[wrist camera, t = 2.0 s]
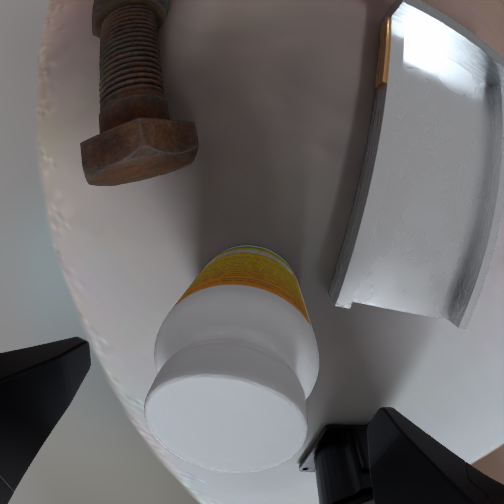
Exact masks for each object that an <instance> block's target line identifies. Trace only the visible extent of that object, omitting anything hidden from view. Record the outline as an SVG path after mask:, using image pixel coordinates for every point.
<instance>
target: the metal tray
mask: <svg viewBox="0 0 504 504" xmlns="http://www.w3.org/2000/svg"><path fill="white" fill-rule="evenodd" d="M375 89H376V91H375V98H374V105H373V111H372V117H371V123H370V129H369V135H368V140H367V145H366V151H365V156H364V161H363V165H362V170H361V175H360V179H359V184H358V188H357V192H356V196H355V201H354V205H353V209H352V213H351V217H350V220H349V224H348V228H347V232H346V235H345V239H344V242H343V246H342V250H341V253H340V256H339V260H338V263H337V266H336V270H335V273H334V276H333V279H332V283H331V286H330V289H329V292H328V294H329V295H330V297H331V299H332V301H333V302H334V304H335V306H338V307H343V308H348V309H350V308H351V305H352V302H357V303H362V304H366V305H371V306H376V307H381V308H386V309H391V310H397V311H402V312H407V313H412V314H418V315H423V316H428V317H434V318H439V319H445V320H449V321H450V322H452V323H453V324H454V325H455V326H456V327H458V328H462V329H466V327H467V325H468V323H469V320H470V318H471V316H472V313H473V311H474V308H475V306H476V303H477V300H478V298H479V295H480V292H481V290H482V287H483V284H484V281H485V278H486V275H487V271H488V268H489V265H490V261H491V258H492V254H493V251H494V247H495V243H496V239H497V234H498V230H499V225H500V220H501V215H502V210H503V204H504V58H503V57H502V56H501V55H500V54H499V53H498V52H496V51H495V50H494V49H493V48H492V47H490V46H489V45H488V44H487V43H485V42H484V41H483V40H481V39H480V38H479V37H477V36H476V35H475V34H473V33H472V32H471V31H469V30H468V29H466V28H465V27H463V26H462V25H460V24H459V23H457V22H456V21H454V20H453V19H451V18H450V17H448V16H446V15H445V14H443V13H441V12H440V11H438V10H436V9H435V8H433V7H431V6H429V5H427V4H426V3H424V2H422V1H420V0H396V1H395V3H394V4H393V5H392V7H391V8H390V9H389V11H388V12H387V14H386V15H385V16H384V18H383V19H382V25H381V30H380V43H379V54H378V64H377V73H376V81H375Z"/></svg>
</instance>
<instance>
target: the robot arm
mask: <svg viewBox="0 0 504 504" xmlns="http://www.w3.org/2000/svg"><path fill="white" fill-rule="evenodd" d="M90 366H91V358H90V347H89V343H88V342H87V341H86V340H84V339H82V338H79V337H73V338H69V339H64V340H60V341H56V342H51V343H47V344H42V345H38V346H33V347H29V348H24V349H19V350H14V351H9V352H4V353H0V504H8V502H9V500H10V499H11V497H12V495H13V493H14V491H15V489H16V487H17V486H18V484H19V482H20V481H21V479H22V477H23V475H24V474H25V472H26V471H27V469H28V467H29V466H30V464H31V463H32V461H33V459H34V458H35V456H36V455H37V453H38V451H39V450H40V448H41V447H42V445H43V444H44V442H45V440H46V439H47V438H48V436H49V434H50V433H51V431H52V430H53V428H54V427H55V425H56V424H57V422H58V421H59V420H60V418H61V417H62V415H63V414H64V412H65V411H66V409H67V408H68V406H69V405H70V403H71V402H72V400H73V398H74V396H75V394H76V393H77V391H78V389H79V387H80V385H81V383H82V382H83V380H84V378H85V376H86V374H87V373H88V371H89V369H90ZM299 470H300V471H302V472H316V480H317V488H318V496H319V504H504V485H503V484H501V483H500V482H498V481H495V480H494V479H492V478H490V477H488V476H487V475H485V474H483V473H482V472H480V471H479V470H477V469H476V468H474V467H473V466H471V465H470V464H468V463H467V462H466V463H465V461H464V460H463V459H461V458H460V457H458V456H457V455H456V454H454V453H453V452H451V451H450V450H449V449H447V448H446V447H444V446H443V445H442V444H440V443H439V442H438V441H436V440H435V439H434V438H432V437H431V436H430V435H428V434H427V433H425V432H424V431H423V430H421V429H420V428H419V427H417V426H416V425H415V424H413V423H412V422H411V421H410V420H408V419H407V418H406V417H404V416H403V415H402V414H400V413H399V412H398V411H396V410H395V409H394V408H392V407H382V408H380V409H379V410H378V411H377V413H376V414H375V416H374V417H373V419H372V420H371V422H370V423H369V425H339V424H330V425H327V426H326V427H325V428H324V429H323V431H322V432H321V434H320V436H319V437H318V439H317V440H316V442H315V443H314V445H313V446H312V448H311V449H310V451H309V452H308V454H307V455H306V457H305V458H304V460H303V461H302V462H301V464H300V465H299Z"/></svg>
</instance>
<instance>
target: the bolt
mask: <svg viewBox="0 0 504 504" xmlns="http://www.w3.org/2000/svg"><path fill="white" fill-rule="evenodd" d="M168 5H169V0H94V4H93V12H92V33H93V35H95V36H97V37H99V38H100V41H101V42H100V64H99V65H100V84H99V86H100V89H99V91H100V114H99V127H100V134H98V135H96V136H94V137H92V138H90V139H88V140H86V141H84V142H81V143H80V146H81V156H82V166H83V171H84V174H85V178H86V180H87V182H88V184H89V185H96V186H115V185H120V184H125V183H130V182H136V181H140V180H144V179H148V178H152V177H155V176H159V175H163V174H166V173H169V172H172V171H175V170H178V169H180V168H182V167H184V166H186V165H189V164H191V163H192V162H193V161H194V159H195V156H196V154H197V150H198V147H199V145H198V139H197V133H196V127H195V123H193V122H185V121H176V120H169V115H168V108H167V102H166V101H165V99H164V96H163V94H164V92H163V86H162V80H161V79H162V77H161V69H160V68H161V66H160V56H159V46H158V37H157V35H158V34H157V28H159V27H160V26H161V25H162V24H163V21H164V19H165V16H166V13H167V9H168Z"/></svg>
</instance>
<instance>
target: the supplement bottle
mask: <svg viewBox="0 0 504 504" xmlns="http://www.w3.org/2000/svg"><path fill="white" fill-rule="evenodd" d="M154 360H155V366H156V370H157V374H158V375H157V376H156V378H155V380H154V382H153V384H152V386H151V388H150V390H149V392H148V394H147V397H146V399H145V405H144V415H145V419H146V422H147V425H148V427H149V429H150V431H151V432H152V434H153V435H154V437H155V438H156V439H157V440H158V441H159V442H160V443H161V444H162V445H163V446H164V447H165V448H166V449H167V450H169V451H170V452H172V453H173V454H175V455H176V456H178V457H180V458H182V459H183V460H185V461H187V462H190V463H192V464H194V465H197V466H200V467H203V468H207V469H211V470H215V471H222V472H232V473H245V472H254V471H260V470H265V469H268V468H271V467H274V466H277V465H279V464H281V463H283V462H285V461H286V460H288V459H289V458H291V457H292V456H293V455H294V454H295V453H296V452H297V451H298V450H299V449H300V448H301V446H302V445H303V443H304V441H305V438H306V436H307V431H308V421H307V412H306V399H307V398H308V396H309V395H310V393H311V392H312V390H313V388H314V385H315V383H316V380H317V376H318V372H319V351H318V346H317V341H316V338H315V334H314V331H313V328H312V325H311V322H310V318H309V315H308V312H307V309H306V305H305V302H304V299H303V296H302V292H301V289H300V286H299V283H298V280H297V278H296V276H295V274H294V272H293V270H292V269H291V267H290V266H289V264H288V263H287V262H286V261H285V260H284V259H283V258H282V257H280V256H279V255H278V254H276V253H274V252H273V251H271V250H269V249H266V248H263V247H259V246H252V245H243V246H236V247H232V248H229V249H227V250H224V251H223V252H221V253H219V254H218V255H216V256H215V257H214V258H213V259H212V260H211V261H210V262H209V263H208V264H207V265H206V266H205V267H204V269H203V270H202V271H201V272H200V274H199V275H198V276H197V278H196V279H195V280H194V281H193V283H192V284H191V285H190V287H189V288H188V289H187V291H186V292H185V293H184V294H183V296H182V297H181V298H180V299H179V301H178V302H177V303H176V305H175V306H174V307H173V308H172V310H171V311H170V312H169V314H168V315H167V317H166V318H165V320H164V322H163V323H162V325H161V327H160V329H159V332H158V334H157V338H156V342H155V349H154Z"/></svg>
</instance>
